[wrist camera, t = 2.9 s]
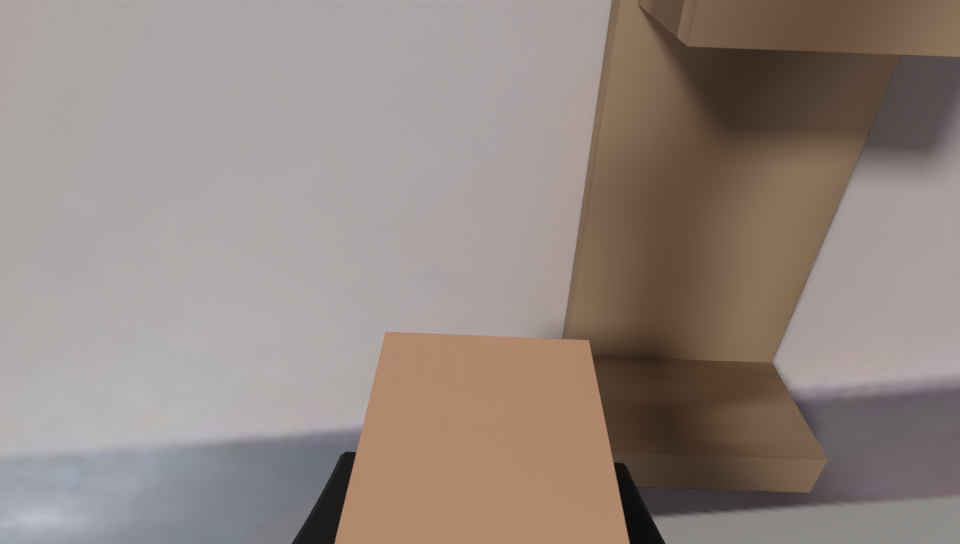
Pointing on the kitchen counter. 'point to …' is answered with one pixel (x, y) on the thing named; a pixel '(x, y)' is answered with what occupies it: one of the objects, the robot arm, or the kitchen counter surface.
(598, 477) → the block
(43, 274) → the kitchen counter surface
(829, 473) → the kitchen counter surface
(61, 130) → the kitchen counter surface
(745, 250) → the rig
